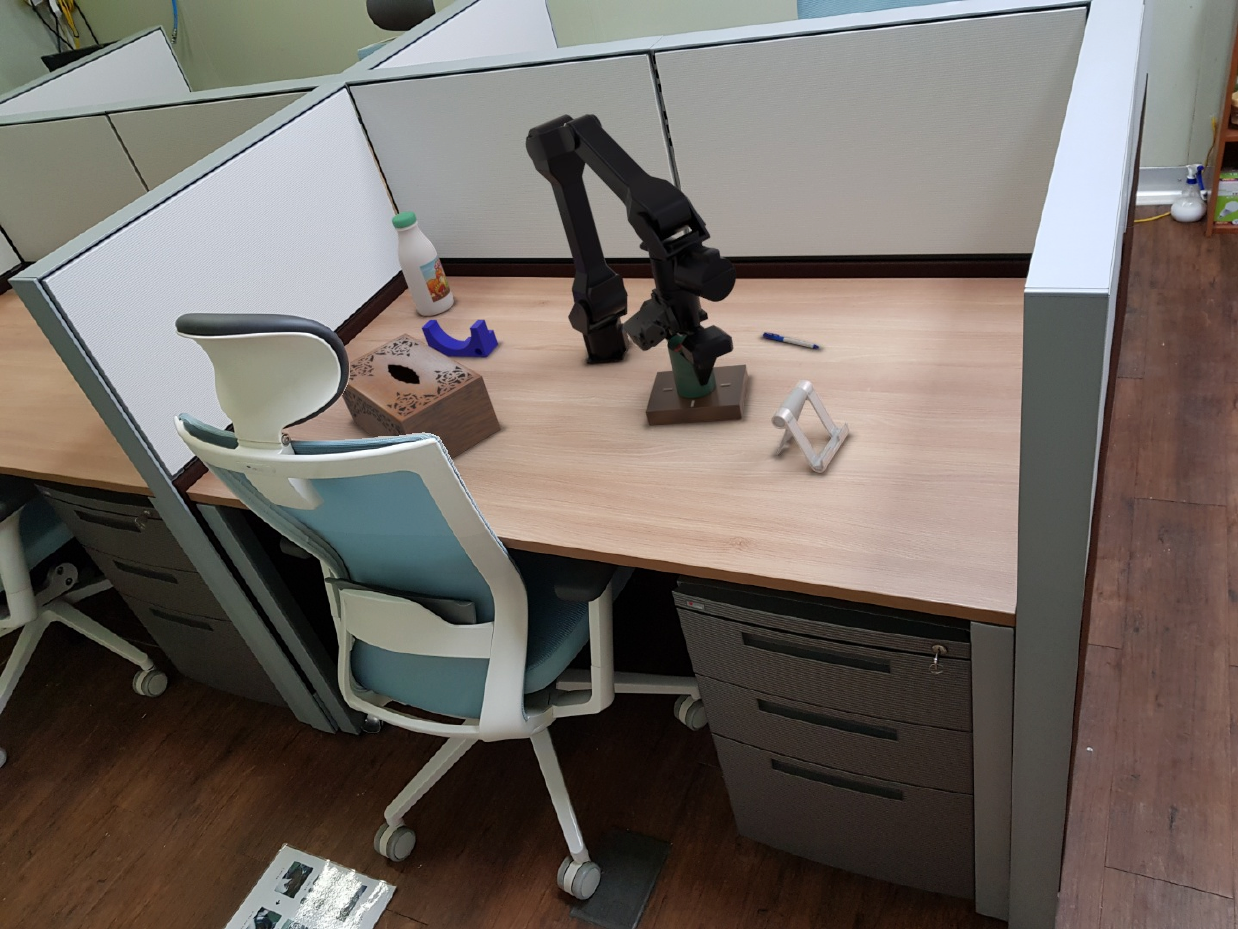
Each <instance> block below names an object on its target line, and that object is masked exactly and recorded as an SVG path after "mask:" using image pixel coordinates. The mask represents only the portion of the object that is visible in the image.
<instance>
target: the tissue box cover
mask: <svg viewBox="0 0 1238 929" xmlns="http://www.w3.org/2000/svg"><path fill="white" fill-rule="evenodd" d="M349 363H350V378H349V382H348V385H347V387H346V389H345V391H344V393H343V395H341V397H342V399H343V401H344V403H345V406H346V408H347V410H348V412H349V414H350V416H351V418H352V421H353V422H354V424H357V425H358V426H359V427H361V428H362V429H363V430H364V431H365V432H367V433H368V434H369V435H370V436H372V437H373V438H375V437H378V436H399V435H406V434H412V433H422V432H425V433H431V434H434V435H436V436H439V437H440V439H441V440H442V443H443V444H444V446H445V447H446V449H447V450H448V454H449V455H450V457H451V458H452V459H454V458H455V457H457V456H459V455H460V454H462V453H463V452H466V451H467V450H468V449H470V448H472V447H474V446H475V445H477V444H479V443H480V442H482V441H484V440H485V439H487V438H489V437H491V436H492V435H493V434H495V433H497V432H498V431H500V430H502V429H501V425H500V422H499V419H498V417H497V415H496V414H497V413H496V410H495V408H494V406H493V403H492V400H491V397H490V393H489V391H488V388H487V386H486V383H485V380H484V378H483V375H481V374H480V373H478V372H476V371H475V370H472V369H471V368H470V367H469V368H468V367H467V366H465V365H464V364H462V363H460V362H458V361H457V360H454V359H453V358H451V357H450V356H446V355H444V354H442V353H440V352H438V351H437V350H435V349H433V348H431V347H430V346H428V344H427V343H424V342H422V341H421V340H419V339H417V338H415V337H413V336H411V335H410V334H408V333H406V332H405V333H403V334H401V335H399V336H397V337H395V338H393V339H392V340H389V341H388V342H385V343H384V344H381V345H380V346H378V347H376V348H374V349H373V350H370V351H368V352H367V353H364V354H363V355H361V356H359V357H356V359H354V360H352V361H349Z"/></svg>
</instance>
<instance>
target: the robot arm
mask: <svg viewBox="0 0 1238 929" xmlns="http://www.w3.org/2000/svg"><path fill="white" fill-rule="evenodd" d="M525 149H526V152H527V154H528V156H529V158H530V159H531V161H532V165H533V166H534V169H535V171H536V172H538V173H539V175H541V176H542V177H543V178H544V179H545V180H546V181H548V183H549V184H550V186H551V189H552V192H553V195H554V200H555V202H556V203H555V204H556V206H557V210H558V212H559V213H558V214H559V216H560V220H561V224H562V227H563V230H564V233H565V236H566V237H565V238H566V240H567V243H568V244H567V245H568V247H569V249H570V250H569V251H570V254H571V257H572V261H573V264H574V268H575V274H574V278H573V282H572V286H571V293H572V298H573V303H574V304H573V306H572V308H571V310H570V312H569V314H568V316H567V319H568V321H569V323H570V325H571V327H572V329H574V330H575V331H577V332H579V333H580V334H582V339H583V342H584V345H585V349H586V353H587V357H586V359H585V363H586V364H588V365H590V364H599V363H600V364H602V363H613V362H622V361H623V360H624V359H625V355H626V353H627V352H628V349H629V346H630V340H631V341H632V342H633V343H634V344H635V345H636V346H637V347H638V348H639V349H640V350H641V351H642V352H647V351H649V350H651V349H652V348H655V347H657V346H658V345H659V344H661V343H662V342H663V341H664V340H666V343H668V341H669V340H670V339H671V338H672V337H674V336H675V335H677V334H678V335H679V336H680V337H683V336H685V335H687V336H686V337H685V339H684V340H683V342H682V344H681V346H682V351H683V352H681V353H679V354H680V355H681V356H682V357H684V358H685V359H686V360H687V361H689V362H691V363H692V366H693V368H694V371H695V374H696V376H697V379H698V381H699V384H700V385H701V386H704V385H707V384H708V382H709V379H710V376H711V373H712V370H713V367H715V364H716V361H717V359H718V358H720V357H722V356H725V355H728V354H730V353H733V351H734V350H735V349H734V342H733V337H732V336H731V335H730V334H729V333H727V332H726V331H725V330H723V329H722V328H721V327H720V326H719V327H718V326H717V325H715V324H712V325H710V326H708V327H704V326H703V324H702V325H701V323H702V322H704V321H707V320H709V314H708V312H707V311H705V310H704V309H703V308H702V304H701V300H700V298H702V299H704V300H706V301H710V302H712V303H719V302H722V301H724V300H725V299H726V298H727V297H728V296H729V295H730V294H731V293H732V291H733V290H734V287H735V285H736V282H737V270H736V267H734V264H733V263H732V262H731V260H729V259H727V258H726V257H722V256H721V252H720V249H719V248H716V247H709V246H705V245H703V242H706V241H707V240H709V239H711V234H710V232H709V231H708V229H707V227H706V226H707V223H706V222H705V221H704V220H703V218H702V216H701V215H700V213H698V211H697V210H696V208H695V207H694V205H693V204H692V202H691V199H689V197H688V196H687V195H686V194H685V193H684V192H683V191H682V190H681V189H679V187H677V186H676V185H674V184H673V183H672V182H670V181H668V180H667V179H664V178H660V177H656V176H652V175H650V174H649V172H647V171H646V170H644V168H643V167H642V166H641V165H640V164H639V163H638V162H637V161H635V159H634V158H632V156H631V155H630V154H629V153H628V152H627V151H626V150H625V149H624V148H623V147H622V146H621V145H620V144H619V142H617V141H616V140H615V138H613V137H612V136H611V135H610V134H609V133H608V131H606V130H605V128H603V125H602V123H601V121H600V119H599V117H598V116H597V115H595V114H593V113H592V114H589V113H586V114H583V115H581V116H579V117H575V118H573V117H572V116H571V115H570V114H566V113H565V114H561V115H560V116H557V117H554V118H553V119H551V120H548V121H545V122H544V123H541V124H539V125H536V126H534V127H532V128H530V129H528V133H527V136H526V137H525ZM586 165H587V166H588V167H589V168H590V169H591V170H592V171H593V173H594V174H595V175H596V176H597V177H598V178H599V179H600V180H601V181H602V182H603V183H604V184H605V185H606V186H607V188H609V189H610V190H611V192H612V193H614V194H615V196H616V197H617V198H618V199H619V200H620V201H621V202H622V204H623V205H624V206H625V210H626V219H627V222H628V223H629V225H630V226H631V228H632V229H633V230H634V232H635V234H636V235H637V236H638V238H639V239H640V240H641V241H642V242H641V243H640V244H639V246H638V247H639V249H640V250H642V251H645V252H647V253H648V258H649V261H650V267H651V273H652V276H653V281H654V286H655V288H652V289H651V293H650V298H649V299H646V300H644V301H643V302H642V303H641V306H640V308H639V310H638V311H636V313H634V314H632V315H631V317H629V318H628V319H627V320H626V321H625V322H624V323H622V319H621V318H622V317H625V316H626V315H628V297H629V295H628V291H627V289H626V287H625V283H624V278H623V276H622V275H621V274H619V273H616V272H615V271H614V270H613V269H612V268H611V267H610V266H608V264H607V262H606V259H605V255H604V251H603V247H602V244H601V241H600V240H601V239H600V236H599V233H598V229H597V225H596V221H595V218H594V214H593V211H592V208H591V204H590V200H589V196H588V193H587V188H586V185H585V181H584V177H583V176H584V172H585V167H586ZM688 228H689V229H690V230H689V231H688V232H686V233H684V234H682V235H680V236H678V237H674V236H675V235H677V234H679V233H681V232H683V231H685V230H687V229H688ZM629 338H630V340H629Z"/></svg>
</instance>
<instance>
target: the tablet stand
mask: <svg viewBox="0 0 1238 929" xmlns="http://www.w3.org/2000/svg"><path fill="white" fill-rule="evenodd" d="M806 401H808V402H809V403H810V404H811V406H812V408H813V410H814V412H815V414H816V415H817V417H818V418H819V420H820V422H821V424H822V425H823V427H824V429H825V431H826V432H827V434H828V436H829V437H830V440H829V441H828V442H827V444H826V446H825V447H824V449H823V450H822V452H821V454H820V455H818V453H816V452H815V450H814V448H813V446H812V445H811V443H810V441H809V440H808V438H807V437H806V434H805V433H804V431H803V429H802V428H801V426H800V424H799V423H798V421H799V420H800V416H801V414H802V411H803V409H804V406H805V403H806ZM770 421H771V424H772V426H773V427H774V428H775V429H778V430H784V433H783V436H782V438H781V441H780V443H779V446H778V449H777V452H776V455H778V456H779V455H780V453H781V452H782V451H783V448H784V446H785V444H786V442H789V441H790V439H791V438H792V437H793V439H794V440H795V443H796V444H797V446H798V447H799V449H800V451H801V453H802V454H803V456H804V458H805V459H806V461H807V463H808V464H809V466H810V468H811V469H812V470H813V471H814V472H815V473H818V474H820V473H821V474H822V473H824V472H825V471H826V469H827V467H828V465H830V463H831V462H832V459H833V458H834V457H835V455H836V454H837V452H838V450H839V449H840V447H841V445H842V444H843V442H845V440H846V438H847V436H848V435H849V433H850V428H849V424H848V423H847V422H844V423H843V425H842V427H840V428H838V426H837V425H836V424H835V422H834V421H833V418H832V417H831V415H830V413H829V412H828V410H827V408H826V407H825V404H824V403H823V401H822V400H821V398H820V396H819V394H818V393H817V391H816V389H815V388H814V386H813V384H812V383H811V382H810V381H809V380H807V379H800V380H798V382H797V383H796V385H795V386H794V387H793V389H792V390H791V391H790V393H789V394H788V395H787V397H786V398H785V400H783V402H782V403H781V404H780V406H779V407H778V409H777V411H775V413H774V414H773V416H772V417H771V419H770Z"/></svg>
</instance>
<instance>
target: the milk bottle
mask: <svg viewBox="0 0 1238 929" xmlns="http://www.w3.org/2000/svg"><path fill="white" fill-rule="evenodd" d="M391 223H392V226H393V227H394V230H395V231H396V232H397V240H398V242H397V243H398V245H397V257H398V262H399V265H400V268H401V272H402V274H403V276H404V279H405V283H406V285H407V287H408V290H409V292H410V295H411V298H412V300H413V303H414V306H415V308H416V311H417V313H419V315H421V316H425V317H430V316H431V317H432V316H435V315H439V314H442V313H445V312H446V311H448V310H449V309H451V307H453V305H454V301H455V300H454V296H453V293H452V290H451V287H450V285H449V282H448V278H447V275H446V274H445V271H444V268H443V265H442V263H441V260H440V257H439V254H438V252H437V250H436V248H435V246H434V245H433V243H432V241H430V239H429V238H428V237H427V236H426V234H424V233H423V232H422V231H421V229H420V227H419V226H418V223H419V222H418V220H417V216H416V213H415V212H414V211H411V210H410V211H403V212H399V213H398V214H395V215H394V216H392V218H391Z"/></svg>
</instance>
